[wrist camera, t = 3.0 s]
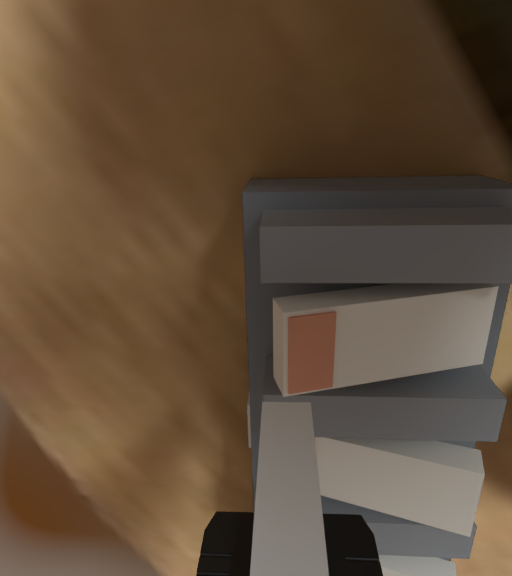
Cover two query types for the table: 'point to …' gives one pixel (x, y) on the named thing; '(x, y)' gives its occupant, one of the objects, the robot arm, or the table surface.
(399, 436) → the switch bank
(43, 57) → the table surface
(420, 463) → the block
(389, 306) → the rocker
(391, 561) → the rocker
